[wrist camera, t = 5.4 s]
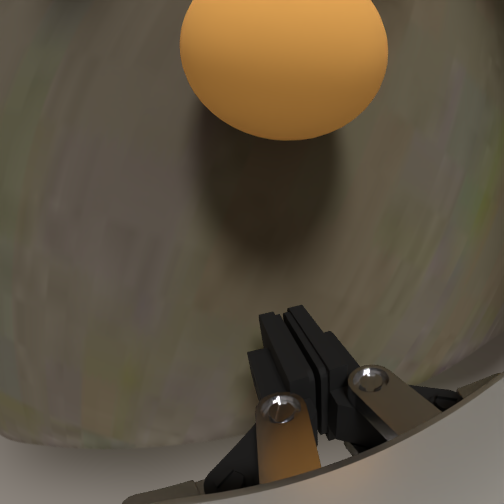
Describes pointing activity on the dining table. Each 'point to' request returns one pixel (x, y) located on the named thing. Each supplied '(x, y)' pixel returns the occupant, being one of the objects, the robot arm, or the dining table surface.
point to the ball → (284, 63)
